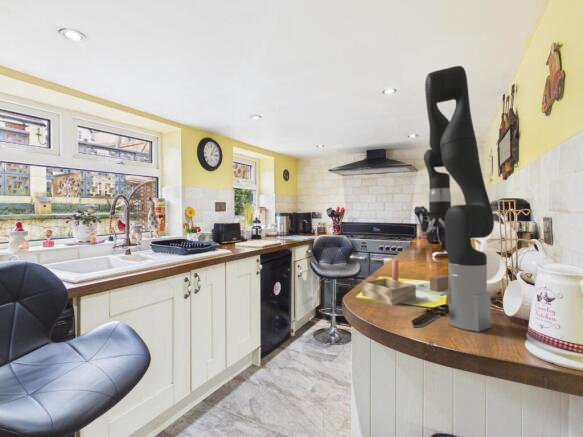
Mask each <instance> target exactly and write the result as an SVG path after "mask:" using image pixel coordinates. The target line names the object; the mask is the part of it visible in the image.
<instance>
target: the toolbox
mask: <svg viewBox="0 0 583 437" xmlns="http://www.w3.org/2000/svg"><path fill="white" fill-rule="evenodd" d="M416 285H417V284H413V283H409V282H404V281H401V280H398V281H396V280H392V278H387V277H382V278H376V279H371V280H365V281H361V296H362V297H366V298H368V299H372V300H376V301H378V302H381V303H384V304H388V305H391V306H394V305H398V304H401V303H406V302H409V301H414V300H416V299H417V297H416V296H417V293H416V292H417V290H416Z"/></svg>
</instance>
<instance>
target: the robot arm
mask: <svg viewBox="0 0 583 437" xmlns="http://www.w3.org/2000/svg"><path fill="white" fill-rule="evenodd" d="M424 84H425V85H424V89H425V90H424V91H425V102H426V111H427V117H428V122H429V123H428V125H429V148H430V149H429V148H428V149H427V150H426V151H425V152H424V155H423V161H424V164H425V167H426V169H427V173H428V180H429V182H428V183H429V192H428V208H429V209H428V211H429V215H428V216H427V215H426V216H425V215H424V216H422V220H421V222H422V223H421V224H422V228H421V229H422V230H421V231H422V232H425V233H426V240H427V242H428V243H429V244H431V243H434V233H433V232H434V231H435V229H437V228H444V237H445V238H444V239H445V250H446V251H445V252H446V254H447V257H448V276H449V295H448V305H449V313H448V323H449V324H450V326H452V327H456V328H458V329H462V330H466V331H473V332H474V331H475V332H483V331H484V330H487V329H490V328H491V327H492V325H491V321H492V320H491V311H492V309H491V307H492V304H491V292H489V291H488V288H487V287H488V268H487V267H488V264H487V262H488V257H487V254H486V253H485V252H483V251H480V250H477V249H476V248H474V246H473V244H472V239H480V238H481V239H483V238H487V237H488V236H489V237H490V235H491V234H492V233H493V230H494V227H495V217H494V212H493V209H492V205H491V201H490V198H489V195H488V193H487V192H488V191H487V189H486V185H485V182H484V177H483V172H482V167H481V162H480V155H479V148H478V144H477V137H476V133H475V129H474V125H473V118H472V113H471V105H470V95H469V85H468V76H467V73H466V70H465V68H464V67H463V66H462V65H455V66H450V67H447V68H442V69H440V70H435V71H431V72H430V73H428V74H427V75H426V78H425V83H424ZM453 100H454V101H455V107H454V111H453V114H452V116H451V119H450V120H449V119H448V118H447V117H446V116H445V115H444V113H442V112H441V110H440V109H439V107H438V104H440V103H444V102H449V101H453ZM435 168H445V170H446V172H447V173H446V172H440V171H437V170H436V169H435ZM451 177H452V179H453V180H454V181H455V183H456V184H457V185H458V187H459V189H460V190H461V192H462V195H463V198H464V202H465V204H456V205H452V194H451V181H450V179H451Z"/></svg>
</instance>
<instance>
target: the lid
mask: <svg viewBox="0 0 583 437" xmlns="http://www.w3.org/2000/svg"><path fill="white" fill-rule="evenodd" d="M415 285H416V291H418V292H424V293H427V294H428V293H429V294H432V295H437V296H444V295H445V296H446V295H447V296H449V275H448V274H447V275H446V274H440V275H434V276H430V277H429V282H423V283H419V284H415Z"/></svg>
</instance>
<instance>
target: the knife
mask: <svg viewBox="0 0 583 437" xmlns="http://www.w3.org/2000/svg"><path fill="white" fill-rule="evenodd" d="M435 309H436V310H437V311H436V312H434V310H435ZM447 314H449V304H446V303H444V304H441V305H437V306H433V307H431V308H430V309H429V308H425V310H424V313H422V314H421V315H419V316H416V317H415V318H414V319H412V320H410V321H411V323H412V324H411V325H412V328H421V327H425V326H426V325H428V324H429V323H431V322H433V321H434V320H436V319H438V318H439V317H442V316H444V317H447Z"/></svg>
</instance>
